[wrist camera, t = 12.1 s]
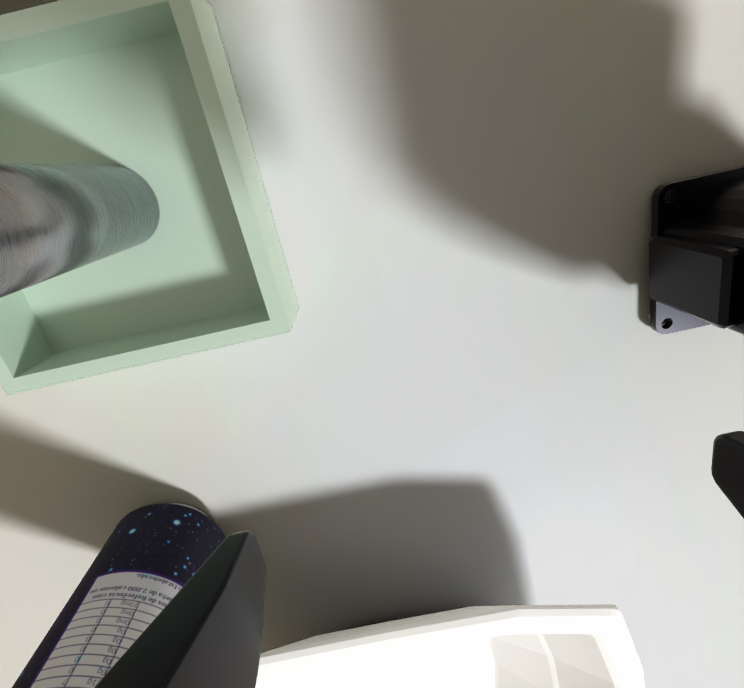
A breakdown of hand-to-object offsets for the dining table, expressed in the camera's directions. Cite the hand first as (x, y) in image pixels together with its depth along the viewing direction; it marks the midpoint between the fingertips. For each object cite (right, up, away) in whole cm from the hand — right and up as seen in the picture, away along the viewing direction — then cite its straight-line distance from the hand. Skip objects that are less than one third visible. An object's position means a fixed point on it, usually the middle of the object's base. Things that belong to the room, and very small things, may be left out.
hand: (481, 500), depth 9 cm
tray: (-12, +8, +9) cm, 17 cm away
